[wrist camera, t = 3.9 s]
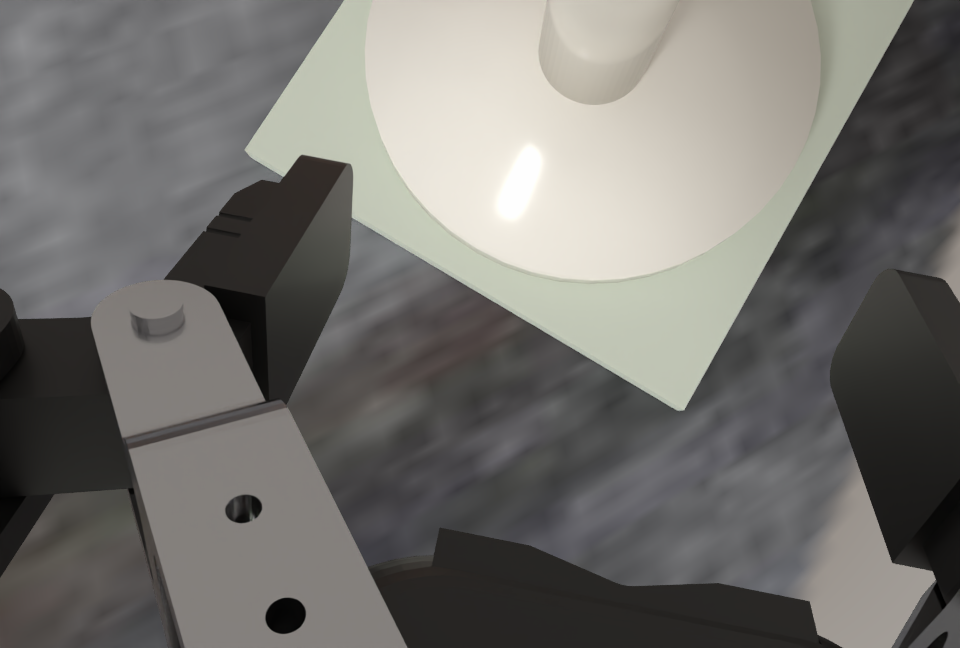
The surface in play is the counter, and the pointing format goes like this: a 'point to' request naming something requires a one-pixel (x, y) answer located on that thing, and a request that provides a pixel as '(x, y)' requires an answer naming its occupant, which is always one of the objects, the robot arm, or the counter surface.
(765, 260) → the mat
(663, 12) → the lid
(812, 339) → the counter surface
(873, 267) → the counter surface
